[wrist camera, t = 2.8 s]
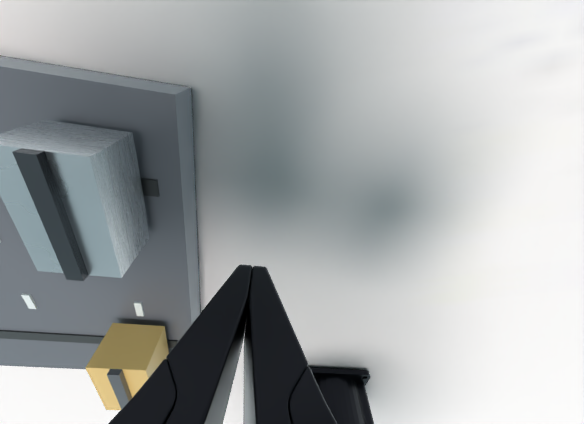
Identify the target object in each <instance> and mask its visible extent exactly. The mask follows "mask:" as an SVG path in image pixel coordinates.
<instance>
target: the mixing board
mask: <svg viewBox="0 0 584 424" xmlns="http://www.w3.org/2000/svg"><path fill="white" fill-rule="evenodd" d="M44 120H50V121H57V122H64V123H71V124H78V125H85V126H92V127H99V128H106V129H113V130H120V131H127V132H133V135H134V142H135V148H136V154H137V160H138V166H139V172H140V178H141V185H142V191H143V197H144V203H145V209H146V215H147V221H148V227H149V234H150V238H149V239H148V241H147V242H146V244H145V245H144V247H143V248H142V249H141V251H140V252H139V254H138V255H137V257H136V258H135V260H134V261H133V262H132V264H131V265H130V267H129V268H128V270H127V271H126V272H125V274H124V275H123V277H122V278H115V277H103V276H91V275H89V276H88V277H87V278H86V279H85V280H84V281H75V280H66V278H65V275H64V273H55V272H43V271H37V269H36V267H35V265H34V263H33V261H32V259H31V257H30V255H29V253H28V251H27V249H26V247H25V245H24V243H23V241H22V239H21V236H20V234H19V232H18V230H17V228H16V226H15V224H14V222H13V220H12V218H11V216H10V214H9V212H8V210H7V208H6V206H5V204H4V202H3V200H2V198H1V196H0V365H5V366H27V367H49V368H72V369H86V366H87V364H88V363H89V361H90V359H91V358H92V356H93V354H94V353H95V351H96V350H97V348H98V346H99V345H100V343H101V341H102V340H103V338H104V337H105V335H106V333H107V332H108V330H109V328H110V327H111V325H112V323H123V324H139V325H154V326H165V332H166V338H167V344H168V350H169V352H170V351H171V350H172V349H173V347H174V346H175V345H176V344H177V342H178V341H179V340H180V339H181V337H182V336H183V335H184V334H185V332H186V331H187V330H188V329H189V327H190V326H191V325H192V324H193V322H194V321H195V320H196V318H197V317H198V316H199V315H200V313H201V312H200V287H199V263H198V239H197V215H196V191H195V167H194V142H193V118H192V94H191V87H186V86H180V85H174V84H168V83H162V82H156V81H150V80H143V79H137V78H131V77H125V76H119V75H113V74H107V73H101V72H95V71H89V70H83V69H77V68H71V67H65V66H59V65H53V64H47V63H41V62H35V61H29V60H23V59H17V58H10V57H4V56H0V134H1V133H4V132H8V131H11V130H14V129H17V128H21V127H24V126H27V125H31V124H34V123H37V122H40V121H44Z"/></svg>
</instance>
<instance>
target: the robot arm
mask: <svg viewBox="0 0 584 424" xmlns="http://www.w3.org/2000/svg"><path fill="white" fill-rule="evenodd" d="M245 325H246V326H245ZM244 333H245V336H244ZM243 339H244V419H243V424H374V422H373V418H372V414H371V410H370V406H369V402H368V398H367V393H366V389H365V385H366V383H367V382H368V380H369V379H370V374H369V372H368V371H366V370H348V369H328V368H310V367H309V366H308V362H307V360H306V357H305V355H304V353H303V351H302V348H301V346H300V344H299V341H298V339H297V337H296V335H295V332H294V330H293V328H292V325H291V323H290V321H289V318H288V316H287V314H286V312H285V309H284V307H283V305H282V302H281V300H280V298H279V296H278V293H277V291H276V289H275V286H274V284H273V282H272V279H271V277H270V275H269V273H268V270H267V268H266V267H262V266H254V267H253V269H252V266H251V265H239V266H238V267H237V268H236V269H235V271H234V272H233V273H232V274H231V276H230V277H229V278H228V279H227V281H226V282H225V283H224V284H223V286H222V287H221V288H220V289H219V291H218V292H217V293H216V295H215V296H214V297H213V298H212V300H211V301H210V302H209V303H208V305H207V306H206V307H205V308H204V310H203V311H202V312H201V313H200V315H199V316H198V317H197V318H196V320H195V321H194V322H193V324H192V325H191V326H190V327H189V329H188V330H187V331H186V332H185V334H184V335H183V336H182V337H181V339H180V340H179V341H178V342H177V344H176V345H175V346H174V347H173V349H172V350H171V351H170V352H169V354H168V355H167V357H166V359H164V360H163V361H162V362H161V364H160V365H159V366H158V367H157V369H156V370H155V371H154V372H153V374H152V375H151V376H150V377H149V378H148V380H147V381H146V382H145V383H144V384H143V386H142V387H141V388H140V389H139V390H138V392H137V393H136V394H135V395H134V396H133V398H132V399H131V400H130V401H129V402H128V403H127V404H126V405H125V406H124V407H123V408H122V410H121V411H120V412H119V413H118V414H117V415H116V416H115V417H114V418H113V419H112V420H111V422H110V423H109V424H223V420H224V416H225V412H226V408H227V404H228V400H229V396H230V392H231V388H232V384H233V380H234V376H235V372H236V368H237V364H238V360H239V356H240V352H241V348H242V343H243Z"/></svg>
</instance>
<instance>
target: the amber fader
mask: <svg viewBox="0 0 584 424" xmlns="http://www.w3.org/2000/svg"><path fill="white" fill-rule="evenodd" d="M168 354H169V350H168V344H167V338H166V332H165V326H154V325H139V324H123V323H112V325H111V327H110V328H109V330H108V332H107V333H106V335H105V337H104V338H103V340H102V341H101V343H100V345H99V346H98V348H97V350H96V351H95V353H94V354H93V356H92V358H91V359H90V361H89V363H88V364H87V366H86V370H87V372H88V374H89V376H90V378H91V380H92V382H93V384H94V386H95V388H96V390H97V392H98V394H99V396H100V398H101V400H102V402H103V404H104V406H105V408H106V410H122V408H123V407H124V406H125V405H126V404H127V403H128V402H129V401H130V400H131V399H132V398H133V396H134V395H135V394H136V393H137V392H138V390H139V389H140V388H141V387H142V386H143V384H144V383H145V382H146V381H147V380H148V378H149V377H150V376H151V375H152V374H153V372H154V371H155V370H156V369H157V367H158V366H159V365H160V364H161V362H162V361H163V360H164V359H166V357H167V355H168Z"/></svg>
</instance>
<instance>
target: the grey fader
mask: <svg viewBox="0 0 584 424" xmlns="http://www.w3.org/2000/svg"><path fill="white" fill-rule="evenodd" d="M0 196H1V198H2V200H3V202H4V204H5V206H6V208H7V210H8V212H9V214H10V216H11V218H12V220H13V222H14V224H15V226H16V228H17V230H18V232H19V234H20V236H21V239H22V241H23V243H24V245H25V247H26V249H27V251H28V253H29V255H30V257H31V259H32V261H33V263H34V265H35V267H36V269H37V271H43V272H55V273H64V275H65V278H66V280H75V281H84V280H85V279H86V278H87V277H88V276H89V275H91V276H103V277H115V278H122V277H123V275H124V274H125V272H126V271H127V270H128V268H129V267H130V265H131V264H132V262H133V261H134V260H135V258H136V257H137V255H138V254H139V252H140V251H141V249H142V248H143V247H144V245H145V244H146V242H147V241H148V239H149V238H150V234H149V227H148V221H147V215H146V209H145V203H144V197H143V191H142V185H141V178H140V172H139V166H138V160H137V154H136V148H135V142H134V135H133V132H127V131H120V130H113V129H106V128H99V127H92V126H85V125H78V124H71V123H64V122H57V121H50V120H44V121H40V122H37V123H34V124H31V125H27V126H24V127H21V128H17V129H14V130H11V131H8V132H4V133H1V134H0Z"/></svg>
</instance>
